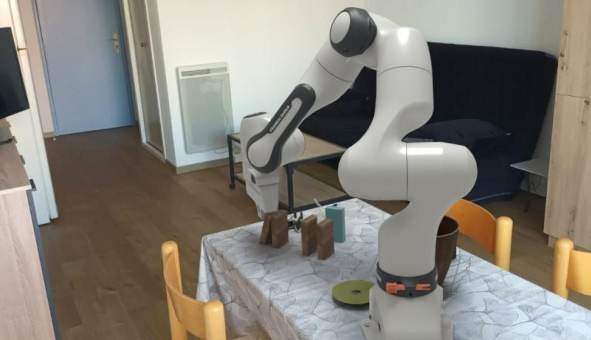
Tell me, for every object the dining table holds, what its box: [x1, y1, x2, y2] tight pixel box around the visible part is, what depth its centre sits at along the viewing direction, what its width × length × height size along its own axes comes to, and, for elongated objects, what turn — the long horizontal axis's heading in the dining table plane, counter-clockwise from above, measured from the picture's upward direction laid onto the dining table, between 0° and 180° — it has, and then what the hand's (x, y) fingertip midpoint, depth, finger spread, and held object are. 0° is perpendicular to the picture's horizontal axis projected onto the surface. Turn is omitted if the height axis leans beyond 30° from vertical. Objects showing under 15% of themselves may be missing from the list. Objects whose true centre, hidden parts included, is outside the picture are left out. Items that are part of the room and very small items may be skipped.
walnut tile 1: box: [258, 209, 281, 246], centre depth 162 cm, size 2×5×10 cm, turn 145°
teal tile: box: [324, 205, 347, 244], centre depth 161 cm, size 2×5×10 cm, turn 64°
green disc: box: [331, 279, 376, 305], centre depth 130 cm, size 11×11×2 cm
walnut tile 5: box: [316, 218, 335, 261], centre depth 151 cm, size 2×5×10 cm, turn 145°
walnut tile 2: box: [271, 209, 290, 249], centre depth 160 cm, size 2×5×10 cm, turn 145°
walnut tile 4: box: [300, 214, 318, 257], centre depth 154 cm, size 2×5×10 cm, turn 145°
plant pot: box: [435, 214, 460, 287], centre depth 132 cm, size 15×15×16 cm
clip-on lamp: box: [288, 198, 341, 234], centre depth 174 cm, size 12×6×18 cm
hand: (262, 217), depth 162 cm, fingers closed
